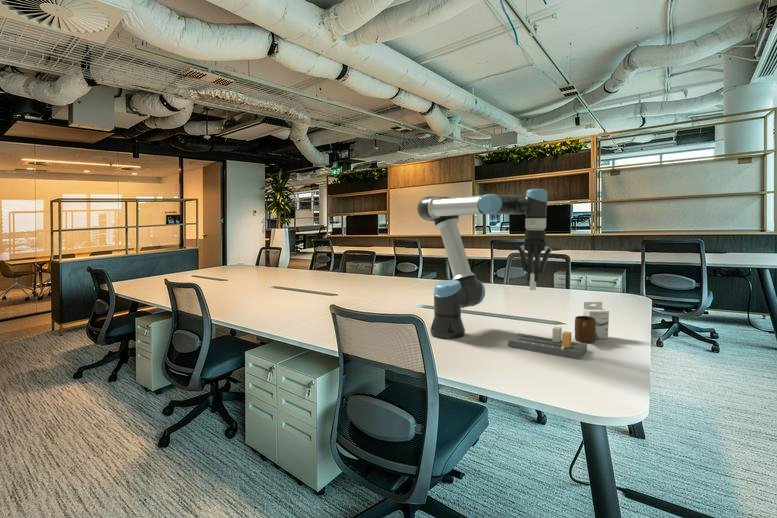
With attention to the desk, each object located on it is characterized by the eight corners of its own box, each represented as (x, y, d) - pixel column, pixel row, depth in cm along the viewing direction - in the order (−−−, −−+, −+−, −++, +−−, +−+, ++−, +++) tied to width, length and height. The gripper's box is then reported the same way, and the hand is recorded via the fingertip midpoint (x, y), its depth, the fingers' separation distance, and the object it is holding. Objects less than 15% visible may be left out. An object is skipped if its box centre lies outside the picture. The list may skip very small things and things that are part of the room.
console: (507, 346, 151) (507, 338, 151) (518, 339, 161) (518, 331, 161) (579, 359, 136) (580, 350, 135) (586, 350, 145) (587, 342, 145)
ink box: (588, 339, 159) (589, 303, 158) (582, 335, 164) (582, 301, 163) (608, 338, 159) (609, 303, 158) (601, 335, 164) (602, 301, 163)
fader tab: (561, 346, 141) (562, 333, 141) (564, 344, 144) (564, 331, 143) (568, 348, 140) (569, 334, 139) (571, 345, 142) (571, 332, 142)
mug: (596, 347, 148) (596, 323, 147) (574, 345, 152) (574, 322, 151) (595, 338, 159) (595, 316, 158) (574, 336, 162) (575, 315, 161)
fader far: (552, 341, 148) (552, 328, 147) (554, 339, 151) (555, 326, 150) (559, 342, 146) (559, 329, 146) (561, 340, 149) (561, 327, 149)
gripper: (515, 229, 150) (512, 289, 152) (550, 230, 142) (547, 293, 144) (522, 229, 155) (519, 286, 158) (555, 229, 147) (552, 290, 150)
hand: (532, 289), depth 151 cm, fingers closed
